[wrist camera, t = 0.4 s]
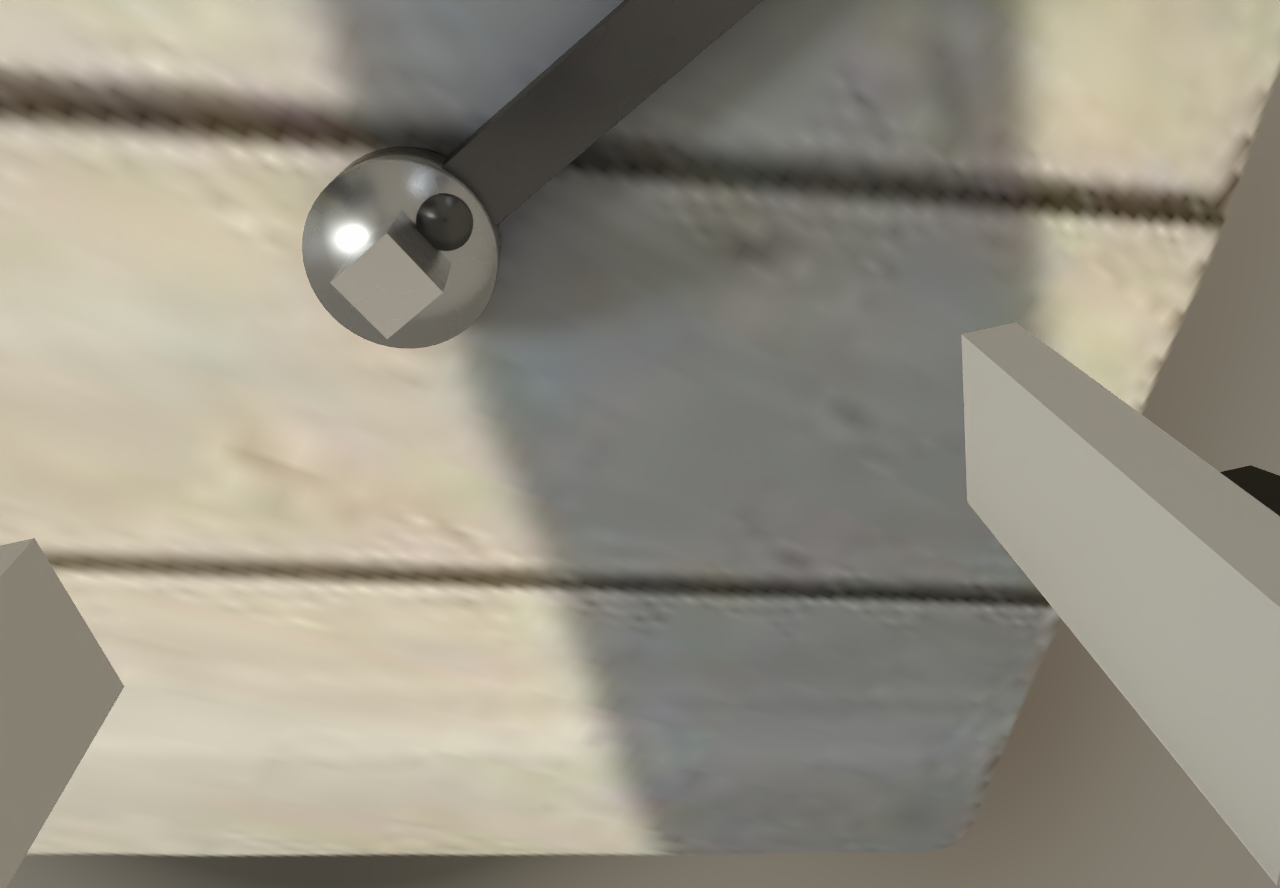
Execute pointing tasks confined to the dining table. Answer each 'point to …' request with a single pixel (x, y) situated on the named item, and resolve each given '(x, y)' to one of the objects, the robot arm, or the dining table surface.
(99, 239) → the dining table surface
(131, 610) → the dining table surface
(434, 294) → the ratchet
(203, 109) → the dining table surface
